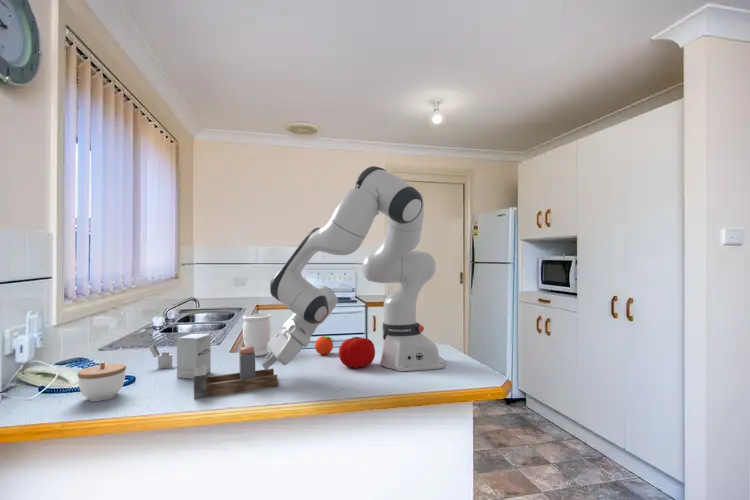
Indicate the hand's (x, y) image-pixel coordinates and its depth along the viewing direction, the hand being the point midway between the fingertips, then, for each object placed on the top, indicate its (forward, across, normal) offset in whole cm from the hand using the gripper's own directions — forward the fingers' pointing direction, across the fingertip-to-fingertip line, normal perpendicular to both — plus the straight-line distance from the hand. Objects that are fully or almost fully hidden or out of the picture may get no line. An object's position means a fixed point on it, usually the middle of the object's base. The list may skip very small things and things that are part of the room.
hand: (263, 366), depth 114 cm
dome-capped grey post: (+5, 0, -1) cm, 6 cm away
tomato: (-19, -5, +26) cm, 32 cm away
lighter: (+25, -34, -18) cm, 46 cm away
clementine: (-15, -25, +22) cm, 37 cm away
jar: (+2, -38, +5) cm, 38 cm away
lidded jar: (+33, -8, -26) cm, 43 cm away
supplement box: (+17, -19, -10) cm, 27 cm away
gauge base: (+9, 0, -2) cm, 9 cm away
